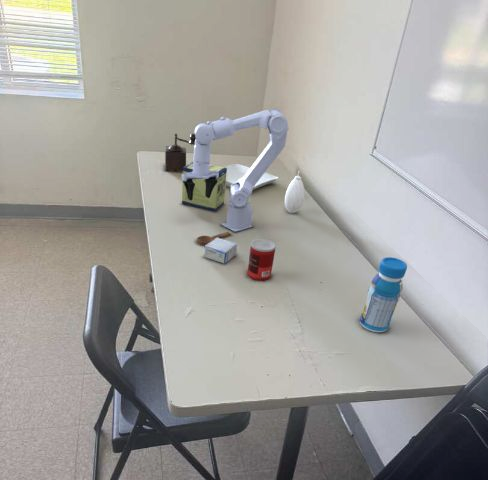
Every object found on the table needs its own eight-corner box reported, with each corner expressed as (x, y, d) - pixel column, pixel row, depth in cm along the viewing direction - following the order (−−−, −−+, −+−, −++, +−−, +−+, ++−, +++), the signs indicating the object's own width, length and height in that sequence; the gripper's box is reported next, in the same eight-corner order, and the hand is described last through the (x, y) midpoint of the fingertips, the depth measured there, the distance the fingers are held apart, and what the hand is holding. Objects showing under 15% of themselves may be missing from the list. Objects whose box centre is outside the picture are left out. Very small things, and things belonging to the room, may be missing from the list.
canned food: (273, 272, 145) (278, 242, 139) (266, 283, 139) (271, 252, 133) (251, 266, 147) (255, 236, 140) (243, 277, 141) (247, 246, 134)
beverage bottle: (370, 335, 122) (392, 272, 110) (353, 318, 128) (371, 256, 116) (394, 330, 125) (418, 268, 113) (376, 314, 131) (396, 253, 119)
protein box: (215, 212, 182) (218, 174, 173) (181, 204, 185) (182, 166, 176) (224, 204, 190) (227, 167, 181) (191, 196, 193) (192, 160, 184)
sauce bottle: (292, 217, 186) (299, 174, 176) (279, 210, 191) (285, 168, 180) (304, 213, 191) (312, 171, 180) (291, 207, 195) (298, 166, 185)
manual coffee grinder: (164, 171, 217) (164, 132, 206) (164, 164, 226) (164, 127, 215) (196, 173, 219) (197, 135, 209) (195, 166, 228) (196, 129, 218)
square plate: (235, 170, 231) (235, 162, 229) (278, 184, 219) (280, 176, 217) (201, 180, 212) (201, 172, 210) (247, 196, 201) (248, 188, 198)
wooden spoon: (224, 231, 167) (224, 229, 166) (233, 237, 164) (234, 234, 164) (193, 241, 158) (193, 238, 157) (203, 246, 155) (203, 243, 154)
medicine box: (216, 248, 155) (203, 257, 149) (217, 236, 153) (204, 245, 146) (236, 254, 153) (224, 264, 146) (237, 243, 150) (225, 252, 144)
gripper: (189, 165, 150) (187, 204, 158) (224, 163, 158) (221, 200, 165) (179, 159, 154) (177, 197, 162) (214, 157, 162) (210, 193, 170)
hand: (198, 198), depth 164 cm, fingers open, 7 cm apart
